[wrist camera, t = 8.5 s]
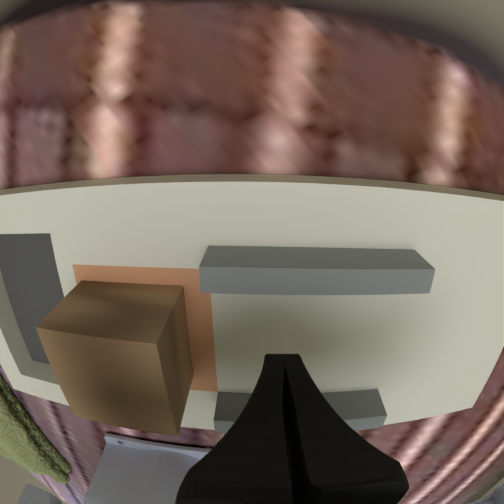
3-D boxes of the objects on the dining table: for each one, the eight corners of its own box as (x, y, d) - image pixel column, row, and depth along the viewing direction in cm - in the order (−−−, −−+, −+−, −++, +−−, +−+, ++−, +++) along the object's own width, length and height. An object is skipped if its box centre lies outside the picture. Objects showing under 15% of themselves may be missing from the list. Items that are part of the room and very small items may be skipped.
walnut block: (104, 363, 15) (74, 416, 12) (81, 280, 13) (35, 327, 10) (193, 373, 15) (178, 436, 11) (183, 285, 13) (156, 343, 10)
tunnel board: (25, 372, 19) (0, 405, 15) (-30, 194, 14) (-73, 212, 10) (461, 389, 18) (483, 426, 14) (523, 198, 13) (570, 219, 9)
